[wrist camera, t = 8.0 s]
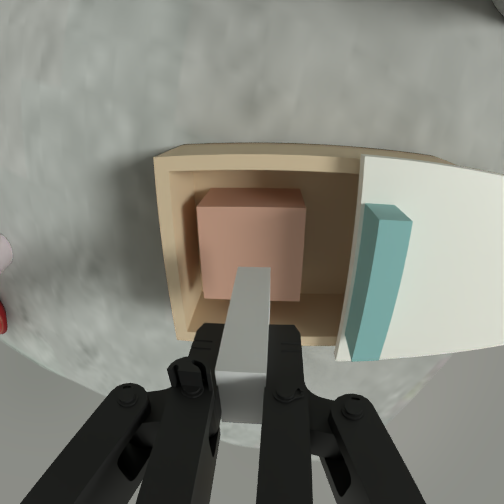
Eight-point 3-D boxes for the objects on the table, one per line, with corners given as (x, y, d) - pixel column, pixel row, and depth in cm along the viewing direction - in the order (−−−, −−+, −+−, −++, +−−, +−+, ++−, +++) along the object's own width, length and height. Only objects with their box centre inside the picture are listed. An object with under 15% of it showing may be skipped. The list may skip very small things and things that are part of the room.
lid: (360, 153, 14) (380, 165, 12) (575, 192, 13) (602, 207, 10) (334, 352, 20) (340, 388, 17) (529, 333, 19) (546, 356, 16)
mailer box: (183, 144, 21) (153, 157, 16) (432, 155, 20) (475, 173, 14) (195, 293, 26) (177, 339, 21) (406, 296, 25) (432, 340, 20)
